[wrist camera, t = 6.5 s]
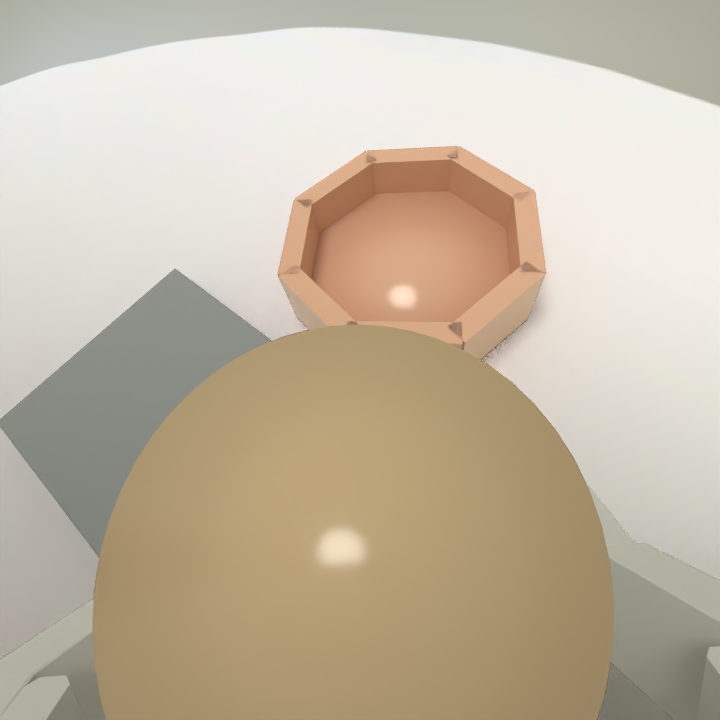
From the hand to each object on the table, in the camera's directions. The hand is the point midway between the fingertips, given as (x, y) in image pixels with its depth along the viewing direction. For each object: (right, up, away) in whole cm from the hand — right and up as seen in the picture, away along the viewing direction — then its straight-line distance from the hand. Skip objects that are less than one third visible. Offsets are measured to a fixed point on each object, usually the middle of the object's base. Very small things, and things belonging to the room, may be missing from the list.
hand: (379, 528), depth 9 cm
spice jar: (+1, -3, +5) cm, 6 cm away
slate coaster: (-8, +1, +8) cm, 12 cm away
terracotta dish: (+2, +7, +10) cm, 12 cm away
